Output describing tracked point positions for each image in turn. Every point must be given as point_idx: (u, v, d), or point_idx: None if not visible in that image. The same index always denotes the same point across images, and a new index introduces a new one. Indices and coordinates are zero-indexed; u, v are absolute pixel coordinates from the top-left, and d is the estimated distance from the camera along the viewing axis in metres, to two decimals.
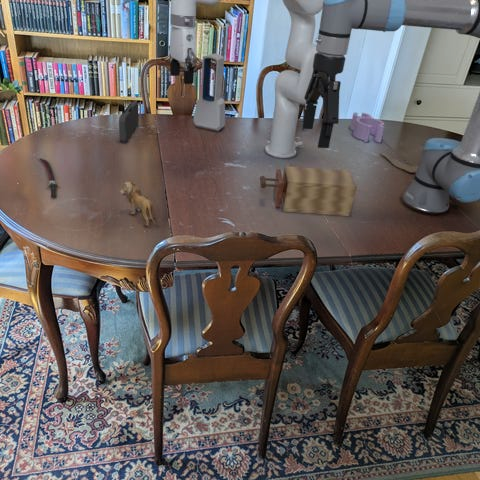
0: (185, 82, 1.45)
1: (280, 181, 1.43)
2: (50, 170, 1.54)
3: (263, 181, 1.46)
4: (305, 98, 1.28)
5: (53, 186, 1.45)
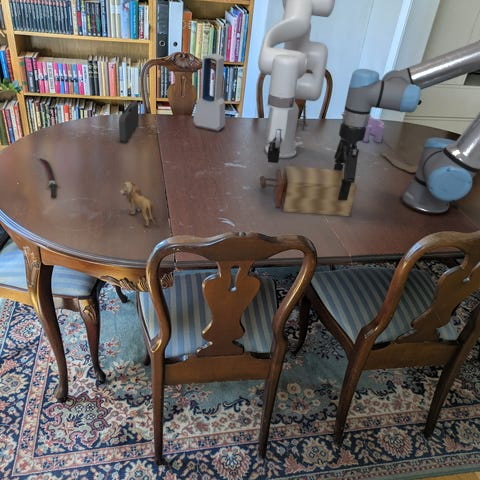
0: None
1: (280, 181, 1.43)
2: (50, 170, 1.54)
3: (263, 181, 1.46)
4: (335, 157, 1.52)
5: (53, 186, 1.45)
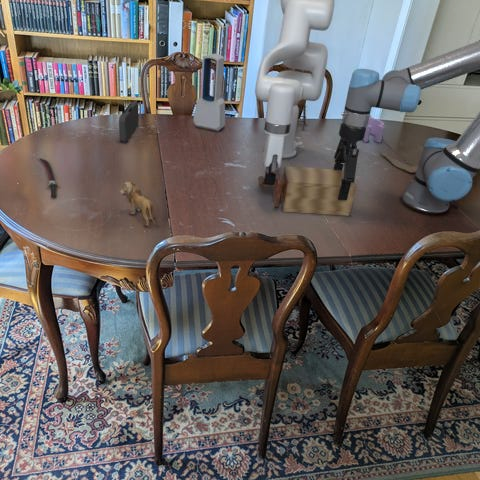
0: None
1: (279, 181, 1.43)
2: (50, 170, 1.54)
3: (261, 181, 1.46)
4: (334, 157, 1.52)
5: (53, 186, 1.45)
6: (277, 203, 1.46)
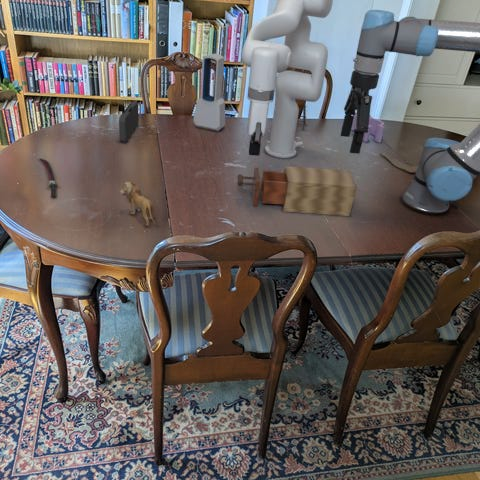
0: None
1: (257, 179, 1.43)
2: (50, 170, 1.54)
3: (240, 179, 1.45)
4: (344, 109, 1.45)
5: (53, 186, 1.45)
6: (256, 201, 1.46)
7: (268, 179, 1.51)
